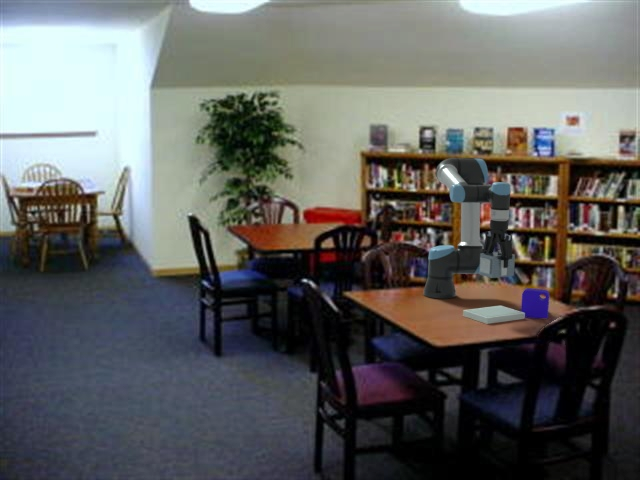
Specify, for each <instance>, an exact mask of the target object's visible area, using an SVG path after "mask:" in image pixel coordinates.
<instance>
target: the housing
mask: <svg viewBox="0 0 640 480" xmlns="http://www.w3.org/2000/svg"><path fill="white" fill-rule="evenodd" d="M505 257H506V256H505ZM502 259H503V257H502V253H501V249H499V250H497V251H495V252H494V251H493V253H480V268H479V274H478V275H479V276H482V277H487V278H491V279H497V278H507V277H513V276H514V275H515V265H516V264H515V262H516V254H513V253H512V259H509V260H508V268H507V275H504V276H501V260H502ZM514 277H515V276H514Z"/></svg>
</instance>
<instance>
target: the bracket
mask: <svg viewBox="0 0 640 480" xmlns="http://www.w3.org/2000/svg"><path fill="white" fill-rule="evenodd" d="M541 295H544V296H545V298H543V297H541ZM520 306H521V307H520V308H521V309H520V310H521V311H520V312H524V313H525V318H530V319H531V318H533V319H540V318H547V319H548V317H549V307H550V292H549V291H548V290H547V289H543V288H541V289H540V288H530V287H529V288H528V287H527V288H525V289H524V290H523V291H522V295H521V305H520Z"/></svg>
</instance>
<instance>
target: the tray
mask: <svg viewBox="0 0 640 480" xmlns="http://www.w3.org/2000/svg"><path fill="white" fill-rule="evenodd" d="M462 316H463V317H465V318H468V319H471V320H474V321H477V322H480V323H483V324H486V325H489V324H496V323H503V322H510V321H516V320H517V321H518V320H524V319H526V317H525V313H524V312H521V311H519V310H516V309H513V308H510V307H506V306H504V305H494V306H487V307H486V306H485V307H479V308H471V309H463V310H462Z"/></svg>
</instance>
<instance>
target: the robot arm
mask: <svg viewBox="0 0 640 480" xmlns="http://www.w3.org/2000/svg"><path fill="white" fill-rule="evenodd" d="M435 177H436V179H437V181H438V182H440V183H441V184H443V185H445V186H446V187H447V188H448V190H449V198H450V201H451V202H452V203H458V204H461V205H460V206H461V212H460V214H461V216H460V221H461V222H460V242H459V243H458V244H457V248H455V246H454V245H449V244H448V245H446V244H445V245H437V246H434V247H431V248H430V249H429V252H428V258H427V259H428V266H427V279H426V283H425V286H424V288H423V293H422V294H423V296H424V297H428V298H433V299H439V300H440V299H444V300H446V299H453V298H456V297H457V291H456V287H455V284H454V283H455V282H454V275H455V274H456V275H458V274H460V275H461V274H463V275H464V274H465V275H469V274H470V275H475V274H478V275H479V268H480V253H493V252H494V250H495V247H496V246H497V244H498V245H499V247H500V248H499V250H501V253H502V257H503V259H502V260H501V276H504V275H507V268H508V260H509V259H512V254H513V246H512V245H513V244H512V239H513V235H511V234H510V235H509V234H508V232H507V230H509V221H508V220H509V218H510V202H511V201H510V200H511V193H512V192H511V184H510V182H502V181H501V182H500V181H495V182H492V184H486V183H488V179H489V172H488V166H487V163H486V161H485V160H484V159H482V158H475V157H473V158H472V157H468V158H467V157H464V158H463V157H450V158H445V159H444V160H442V161H441V162H440V163H439V164H438V165H437V166H436V170H435ZM481 204H490V221H489V229H490V230H489V231H488V230H487V231H485V233H484V234H485V237H484V238H485V239H484V244H482V243H481V242H480V234H481V233H480V229H481V228H480V226H481V223H480V221H481V220H480V219H481V216H480V215H481V212H480V211H481ZM505 256H506V257H505Z"/></svg>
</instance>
